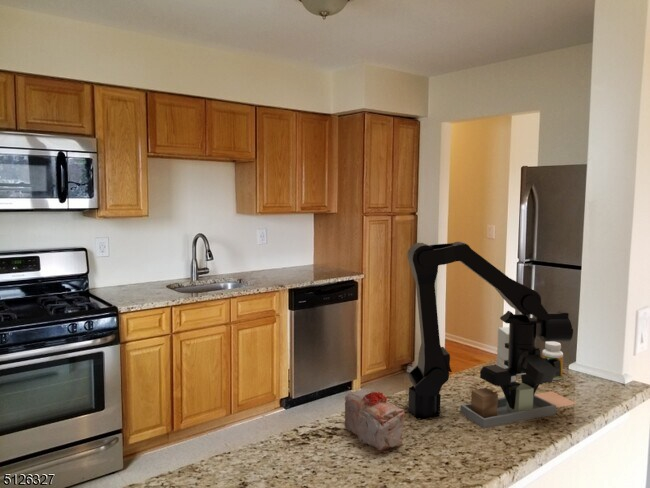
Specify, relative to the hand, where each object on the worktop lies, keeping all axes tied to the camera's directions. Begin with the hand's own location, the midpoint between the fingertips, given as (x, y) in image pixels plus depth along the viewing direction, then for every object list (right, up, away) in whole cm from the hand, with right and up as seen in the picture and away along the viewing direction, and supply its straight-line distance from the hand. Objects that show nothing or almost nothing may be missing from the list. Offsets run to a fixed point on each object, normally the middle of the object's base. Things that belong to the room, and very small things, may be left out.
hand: (519, 406), depth 116 cm
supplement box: (+8, +1, +26) cm, 27 cm away
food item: (-35, -3, -12) cm, 37 cm away
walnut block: (-9, -1, -3) cm, 10 cm away
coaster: (+10, -1, +7) cm, 12 cm away
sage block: (0, -1, 0) cm, 1 cm away
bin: (-3, -2, -1) cm, 4 cm away
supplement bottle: (+18, 0, +23) cm, 29 cm away
